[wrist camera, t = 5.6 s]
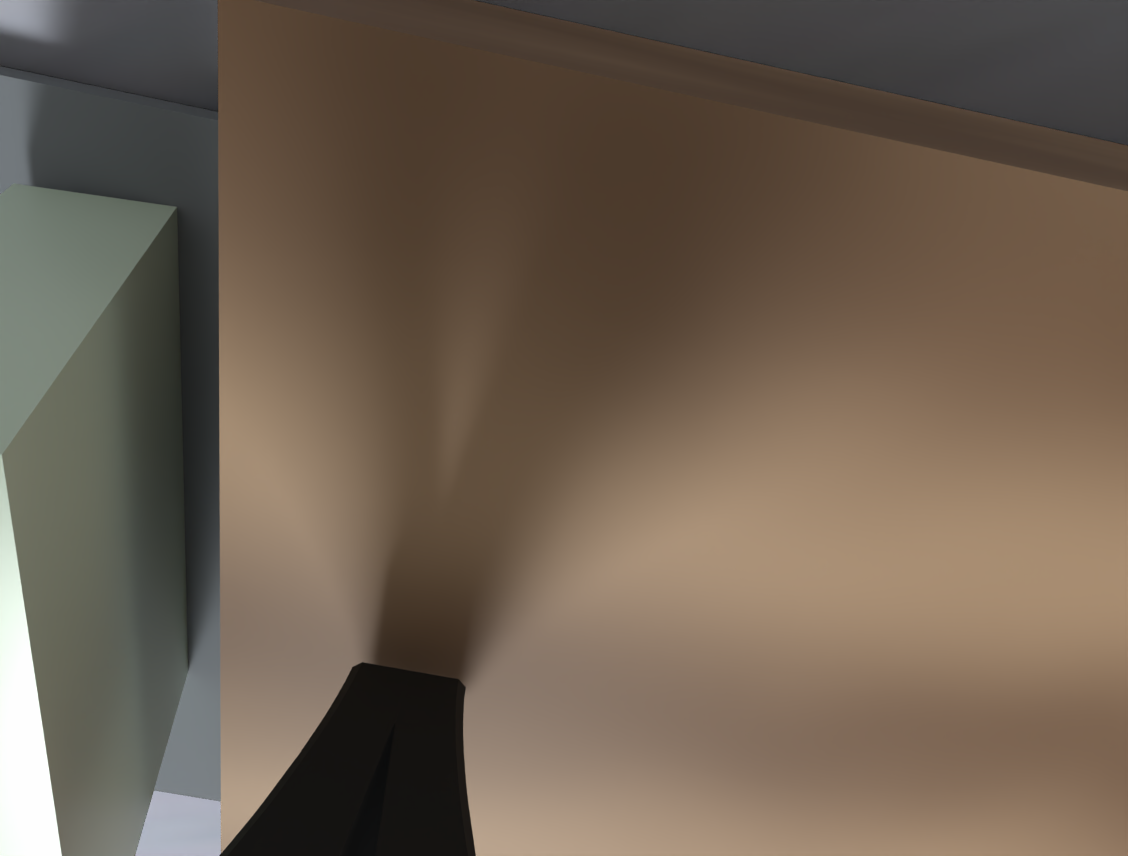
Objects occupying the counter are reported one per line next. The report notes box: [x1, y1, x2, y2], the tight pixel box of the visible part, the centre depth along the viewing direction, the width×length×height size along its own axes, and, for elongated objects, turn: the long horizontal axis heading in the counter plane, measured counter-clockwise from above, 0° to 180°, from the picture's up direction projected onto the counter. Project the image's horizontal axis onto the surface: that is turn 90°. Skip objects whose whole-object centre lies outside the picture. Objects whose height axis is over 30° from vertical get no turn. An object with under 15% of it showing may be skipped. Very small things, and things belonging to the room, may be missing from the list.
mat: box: [0, 66, 221, 801], centre depth 15 cm, size 14×9×1 cm, turn 169°
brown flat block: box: [218, 0, 1128, 856], centre depth 14 cm, size 16×14×4 cm
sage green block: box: [0, 184, 188, 856], centre depth 12 cm, size 9×6×2 cm
